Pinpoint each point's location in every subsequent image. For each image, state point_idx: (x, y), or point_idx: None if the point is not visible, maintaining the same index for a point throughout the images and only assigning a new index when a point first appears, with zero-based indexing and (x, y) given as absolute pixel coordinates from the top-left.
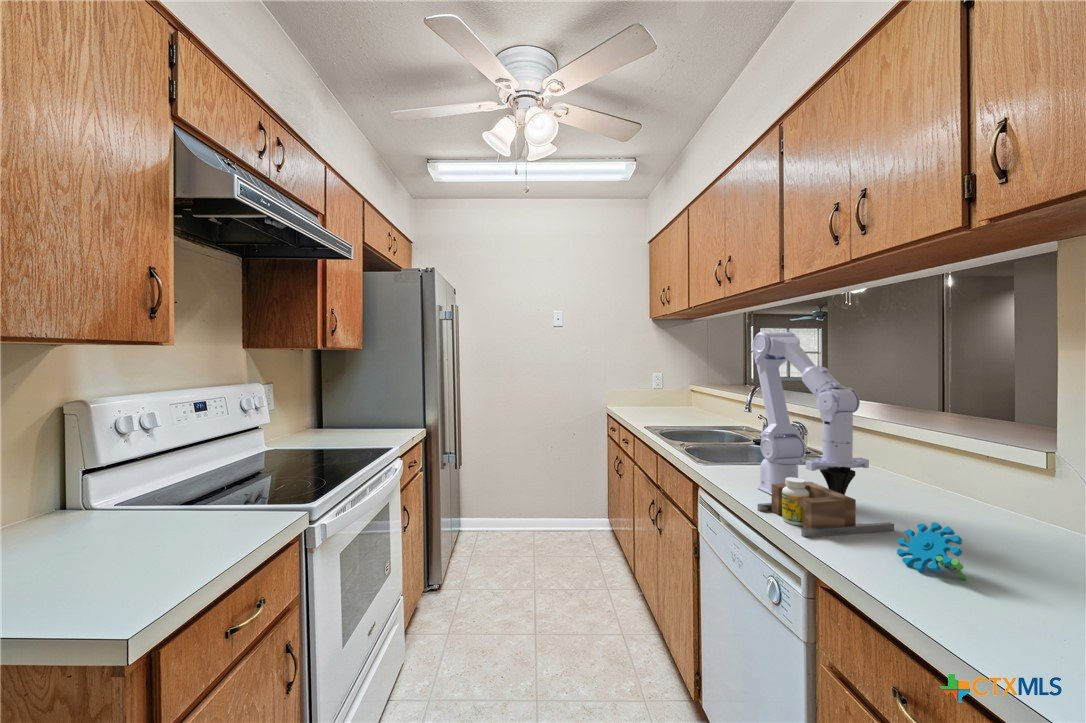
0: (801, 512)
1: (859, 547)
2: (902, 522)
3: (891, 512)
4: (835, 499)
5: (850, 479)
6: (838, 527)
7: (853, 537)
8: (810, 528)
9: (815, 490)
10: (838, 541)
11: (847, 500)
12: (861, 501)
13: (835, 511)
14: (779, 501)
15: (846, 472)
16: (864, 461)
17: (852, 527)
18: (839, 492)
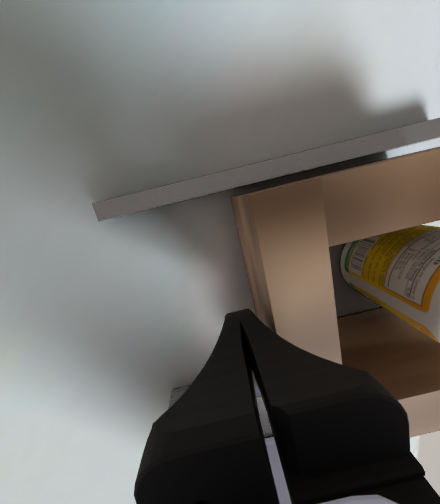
0: (424, 225)
1: (304, 42)
2: (38, 280)
3: (32, 359)
4: (371, 186)
5: (199, 388)
6: (318, 151)
7: (271, 135)
8: (425, 132)
9: None
10: (341, 95)
11: (304, 181)
12: (80, 435)
13: (344, 170)
14: None
15: (262, 443)
16: None
17: (263, 161)
18: (259, 323)
